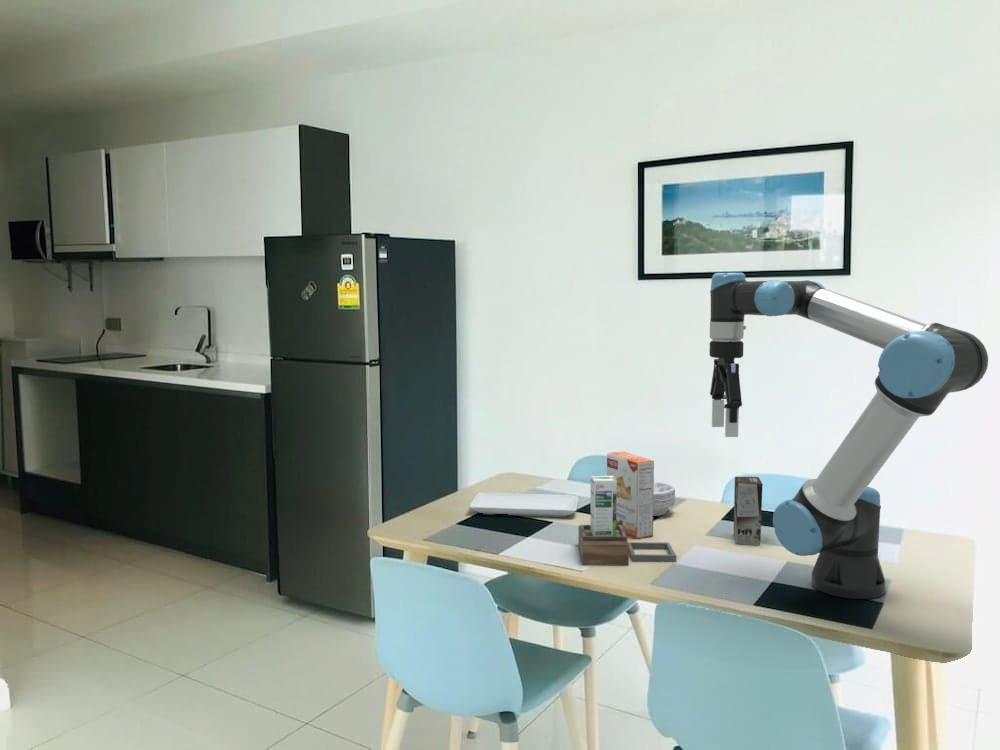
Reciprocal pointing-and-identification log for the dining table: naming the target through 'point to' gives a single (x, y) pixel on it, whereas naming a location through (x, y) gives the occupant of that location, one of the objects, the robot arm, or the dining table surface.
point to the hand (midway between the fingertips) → (724, 431)
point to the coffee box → (747, 510)
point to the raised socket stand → (603, 547)
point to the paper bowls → (662, 498)
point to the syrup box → (603, 505)
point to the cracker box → (633, 492)
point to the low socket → (651, 558)
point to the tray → (524, 504)
